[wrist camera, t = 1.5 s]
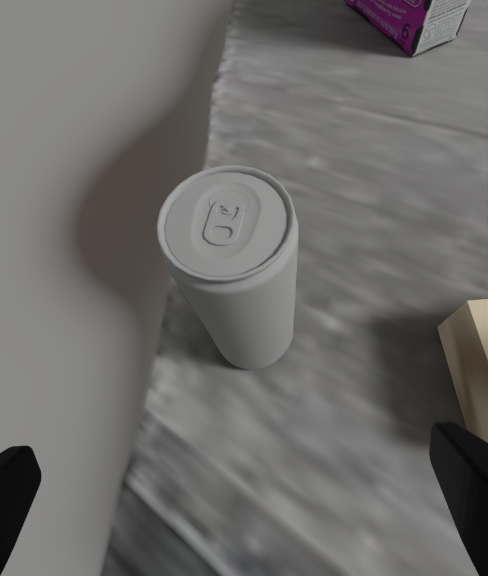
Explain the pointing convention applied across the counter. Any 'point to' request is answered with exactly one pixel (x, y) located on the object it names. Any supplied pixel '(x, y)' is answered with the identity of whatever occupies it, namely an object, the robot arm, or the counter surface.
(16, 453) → the robot arm
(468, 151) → the counter surface
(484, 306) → the maple block
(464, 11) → the candy bar box
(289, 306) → the beverage can
